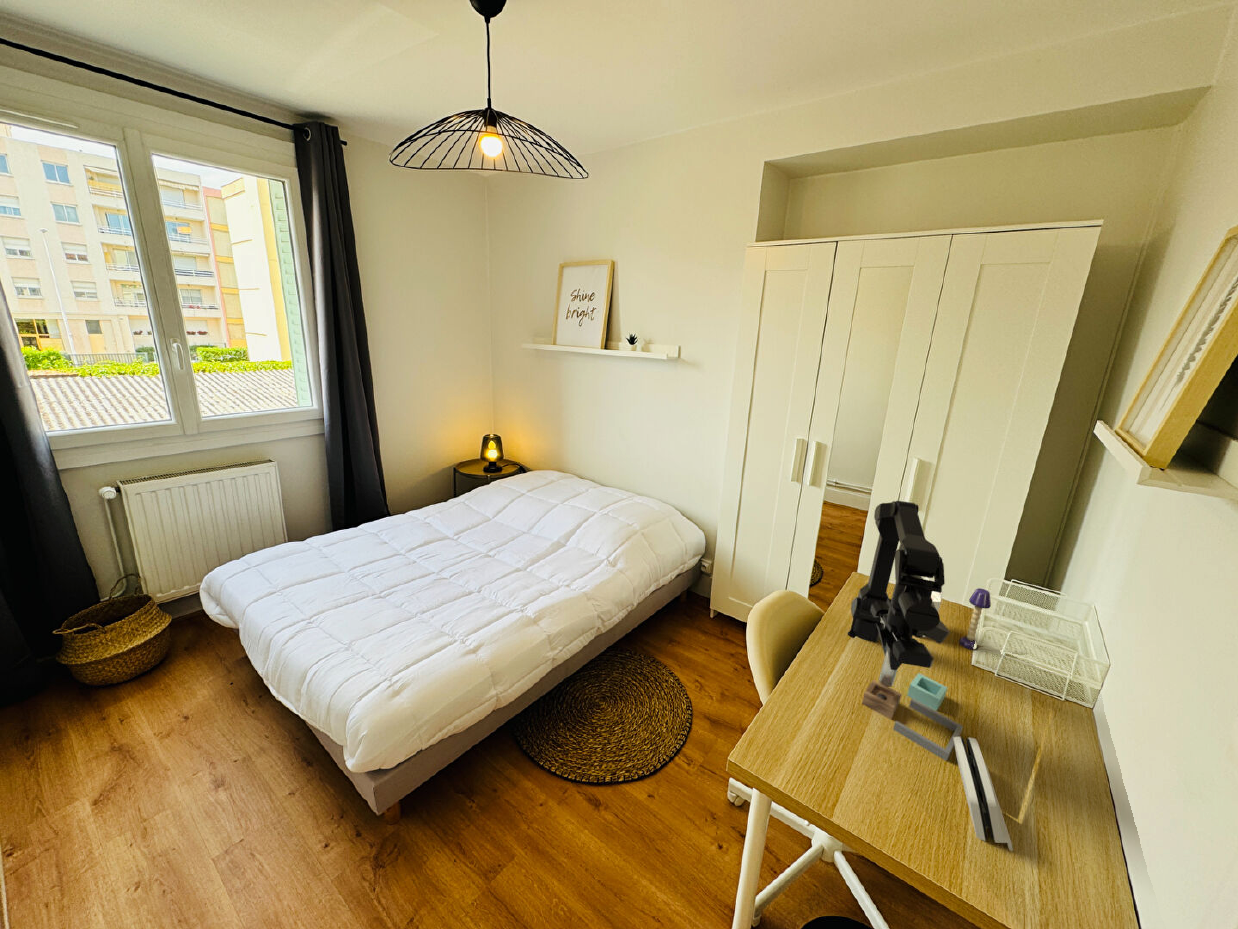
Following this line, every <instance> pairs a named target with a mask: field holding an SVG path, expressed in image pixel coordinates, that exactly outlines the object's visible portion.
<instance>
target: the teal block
mask: <svg viewBox="0 0 1238 929" xmlns="http://www.w3.org/2000/svg"><path fill="white" fill-rule="evenodd" d="M947 691H948V687H947V686H946V685H943V684H941V683H939V682H938V681H935V680H934V679H931V678H930V677H927V676H926V675H924V674H921V673H920V672H918V673H917V674H916V675H915V677H914V678H913V680H912V682H910V684H909V686H908V691H907V694H906V696H907V697H910V698H911V699H914V700H916V701H918V702H919V703H921V704H923V705H925V706H927V707H929V708H931V709H932V710H934V711H936V712H938V710H939V708H940V706H941V704H942V702H943V701H944V700H945V696H946V693H947Z"/></svg>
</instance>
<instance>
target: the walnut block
mask: <svg viewBox="0 0 1238 929" xmlns="http://www.w3.org/2000/svg"><path fill="white" fill-rule="evenodd" d="M901 698H902V693H901V692H900V691H897V690H895V689H893V688H892V687H887V686H884V685H882V684H881V683H880V682H879V681H877V680H875V679H872V680H871V682H870V683H869V685H868V686H867V688H866V690H865V692H864V693H863V697H862V702H861V705H863V706H865V707H866V708H869V709H870V710H872V711H874V712H876V713H878V714H880V715H881V716H883V717H885V718H887V719H889V720H892V718H893V717H894V715H895V712H896V711H897V709H898V707H899V705H900V701H901Z"/></svg>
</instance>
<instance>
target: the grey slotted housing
mask: <svg viewBox="0 0 1238 929" xmlns="http://www.w3.org/2000/svg"><path fill="white" fill-rule="evenodd" d="M953 739H954V750H955V756H956V762H957V765H958V770H959V772H960V773H959V774H960V776H961V781H962V784H963V789H964V793H965V798H966V801H967V805H968V809H969V813H970V817H971V818H970V819H971V821H972V825H973V829H974V832H975V837H976V838H977V839H979V840H981V841H985V842H986V839H989V838H988V833H989V836H990V838H991V840H994V843H997V844H998V843H1000V844H1006V843H1007V844H1006V845H1007V847H1008V850H1009V851H1012V852H1013V845H1012V844H1013V843H1012V841H1011V837H1010V834H1009V831H1008V828H1007V827H1008V826H1007V825H1006V822H1005V819H1004V816H1003V813H1002V812H1003V811H1002V809H1001V805H1000V803H999V800H998V797H997V793H996V791H995V787H994V785H993V781H992V778H991V775H990V772H989V768H988V766H987V764H986V763H985V760H984V757H983V755H982V754H983V753H982V751H981V748H980V745H979V743H978V740H977V739H976V738H973V737H967V738H965V740H964V738H963V737H961V736H959V737H953ZM965 741H966V742H965ZM980 793H981V795H982V796H980ZM981 797H982V800H981ZM987 829H988V830H987ZM987 831H988V832H987Z"/></svg>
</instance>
